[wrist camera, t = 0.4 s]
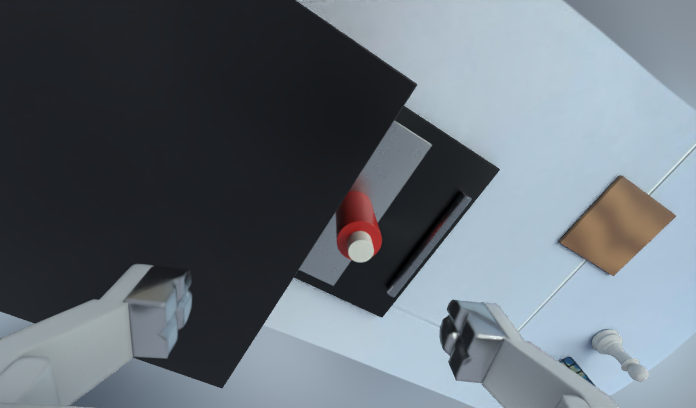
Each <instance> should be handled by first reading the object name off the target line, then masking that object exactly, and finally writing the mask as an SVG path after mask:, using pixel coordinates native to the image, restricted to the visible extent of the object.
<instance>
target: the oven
mask: <svg viewBox="0 0 696 408" xmlns="http://www.w3.org/2000/svg"><path fill="white" fill-rule="evenodd" d="M416 86H417V84H416V83H415V82H413V81H412V80H410V79H409V78H408V77H406V76H405V75H403V74H402V73H400V72H399V71H397V70H396V69H395V68H393V67H392V66H390V65H389V64H387V63H386V62H384V61H383V60H381V59H380V58H379V57H377V56H376V55H374V54H373V53H371V52H370V51H368V50H367V49H365V48H364V47H363V46H361V45H360V44H358V43H357V42H355V41H354V40H352V39H351V38H349V37H348V36H347V35H345V34H344V33H342V32H341V31H339V30H338V29H336V28H335V27H333V26H332V25H331V24H329V23H328V22H326V21H325V20H323V19H322V18H320V17H319V16H318V15H316V14H315V13H313V12H312V11H310V10H309V9H307V8H306V7H304V6H303V5H302V4H300V3H299V2H297V1H296V0H0V312H3V313H6V314H10V315H12V316H15V317H18V318H21V319H23V320H27V321H29V322H32V323H38V322H40V321H43V320H45V319H47V318H50V317H52V316H55V315H57V314H59V313H62V312H64V311H66V310H69V309H71V308H74V307H76V306H78V305H81V304H83V303H86V302H88V301H90V300H93V299H95V300H100V298H101V297H102V296H103V295H104V294H105V293H106V292H107V291H108V290H109V289H110V288H111V287H112V286H113V285H114V284H115V283H116V282H117V281H118V279H119V278H120V277H121V276H122V275H123V274H124V273H125V272H126V271H127V270H128V269H129V268H130V267H131V266H132V265H134V264H146V265H153V266H162V267H170V268H177V269H185V270H190V271H191V272H192V284H191V285H190V287H189V289H188V290H189V291H190V292H191V293H192V306H191V311H190V314H189V317H188V320H187V322H186V324H185V326H184V327H183V328H181V329H180V330H178V339H177V341H176V343H175V345H174V347H173V349H172V350H171V352H170V354H169V356H168V358H147V357H133V358H136V359H139V360H142V361H145V362H147V363H150V364H153V365H156V366H159V367H162V368H165V369H168V370H170V371H174V372H176V373H179V374H182V375H185V376H188V377H191V378H194V379H196V380H200V381H202V382H205V383H208V384H211V385H214V386H217V387H220V388H223V387H224V385H225V384H226V382H227V380H228V379H229V377H230V376H231V374H232V373H233V371H234V370H235V368H236V366H237V365H238V363H239V362H240V360H241V359H242V357H243V355H244V354H245V352H246V351H247V349H248V348H249V346H250V345H251V343H252V341H253V340H254V338H255V337H256V335H257V334H258V332H259V331H260V329H261V327H262V326H263V324H264V323H265V321H266V320H267V318H268V317H269V315H270V313H271V312H272V310H273V309H274V307H275V306H276V304H277V303H278V301H279V299H280V298H281V296H282V295H283V293H284V292H285V290H286V289H287V287H288V285H289V284H290V282H291V281H292V279H293V278H294V277H295V278H297V279H299V280H301V281H303V282H305V283H308V284H310V285H312V286H314V287H316V288H319V289H321V290H323V291H325V292H327V293H329V294H332V295H334V296H336V297H338V298H340V299H342V300H345V301H347V302H349V303H351V304H353V305H356V306H358V307H360V308H362V309H364V310H366V311H369V312H371V313H373V314H375V315H377V316H379V317H383V316H384V315H385V313H386V312H387V311H388V310H389V308H390V307H391V306H392V305H393V303H394V302H395V301H396V300H397V298H398V297H399V296H400V295H401V293H402V292H403V291H404V290H405V288H406V287H407V286H408V285H409V283H410V282H411V281H412V280H413V278H414V277H415V276H416V275H417V273H418V272H419V271H420V269H421V268H422V267H423V266H424V264H425V263H426V262H427V261H428V259H429V258H430V257H431V256H432V254H433V253H434V252H435V251H436V249H437V248H438V247H439V246H440V244H441V243H442V242H443V241H444V239H445V238H446V237H447V236H448V234H449V233H450V232H451V231H452V229H453V228H454V227H455V226H456V224H457V223H458V222H459V220H460V219H461V218H462V217H463V215H464V214H465V213H466V212H467V210H468V209H469V208H470V207H471V205H472V204H473V203H474V202H475V200H476V199H477V198H478V197H479V195H480V194H481V193H482V192H483V190H484V189H485V188H486V187H487V185H488V184H489V183H490V182H491V180H492V179H493V178H494V177H495V175H496V174H497V173H498V171H499V170H500V169H499V168H497V167H496V166H494V165H493V164H491V163H490V162H488V161H487V160H485V159H484V158H482V157H481V156H479V155H478V154H476V153H475V152H473V151H472V150H470V149H469V148H467V147H466V146H464V145H463V144H461V143H460V142H458V141H457V140H455V139H454V138H452V137H450V136H449V135H447V134H446V133H444V132H443V131H441V130H440V129H438V128H437V127H435V126H434V125H432V124H431V123H429V122H428V121H426V120H425V119H423V118H422V117H420V116H419V115H417V114H416V113H414V112H413V111H411V110H410V109H408V108H407V107H405V106H404V105H405V103H406V102H407V100H408V99H409V97H410V95H411V94H412V92H413V91H414V89H415V88H416ZM350 191H358V192H361V193H364V194H365V195H366V196H367V197H368V198H369V199H370V201H371V204H372V207H373V210H374V213H375V217H376V220H377V223H378V226H379V230H380V233H381V237H382V244H381V247H380V249H379V251H378V252H377V253H376V254H375V255H374V256H373V257H371V258H370V259H369V260H368V261H366V262H355V261H353V260H350V259H348V258H346V257H345V256H343V255H342V254H341V253H340V251H339V249H338V247H337V238H336V211H337V209H338V208H339V206H340V204H341V203H342V201H343V200H344V198H345V197H346V195H347V194H348V192H350Z"/></svg>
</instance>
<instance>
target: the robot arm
mask: <svg viewBox="0 0 696 408" xmlns="http://www.w3.org/2000/svg"><path fill="white" fill-rule="evenodd" d="M191 284H192V272H191V271H190V270H185V269H177V268H170V267H162V266H153V265H146V264H134V265H132V266H131V267H130V268H129V269H128V270H127V271H126V272H125V273H124V274H123V275H122V276H121V277H120V278H119V279H118V281H117V282H116V283H115V284H114V285H113V286H112V287H111V288H110V289H109V290H108V291H107V292H106V293H105V294H104V295H103V296H102V297H101V298H100V300H95V299H93V300H90V301H88V302H86V303H83V304H81V305H78V306H76V307H74V308H71V309H69V310H66V311H64V312H62V313H59V314H57V315H55V316H52V317H50V318H47V319H45V320H43V321H40V322H38V323H35V324H33V325H31V326H28V327H26V328H24V329H21V330H19V331H16V332H14V333H12V334H10V335H7V336H5V337H2V338H0V408H92V407H73V406H69V405H71V404H72V403H74V402H75V401H76V400H78V399H79V398H80V397H82V396H83V395H84V394H86V393H87V392H88V391H90V390H91V389H93V388H94V387H95V386H96V385H98V384H99V383H100V382H102V381H103V380H105V379H106V378H107V377H109V376H110V375H112V374H113V373H114V372H116V371H117V370H118V369H120V368H121V367H122V366H124V365H125V364H126V363H128V362H129V361H130V360H132V359H133V357H147V358H168V356H169V354H170V352H171V350H172V349H173V347H174V345H175V343H176V341H177V339H178V330H180V329H181V328H183V327H184V326H185V324H186V322H187V320H188V317H189V314H190V311H191V306H192V293H191V292H190V291H189V290H188V289H189V287H190V285H191ZM447 311H448V313H449V315H448V316H447V317H446V318H444V319H443V320H442V323H441V326H440V342H441V345H442V348H443V350H444V351H445V352H446V353H447V354H449V355H450V358H449V361H448V362H449V365H450V367H451V370H452V372H453V374H454V377H455V379H456V381H466V382H475V383H482V385H483V386H484V387H485V388H486V389H487V390H488V392H489V393H490V394H491V395H492V396H493V397H494V398H495V399H496V400H497V401H498V402H499V403H500V404H501V405H502V406H503V407H504V408H620V407H619V406H618V405H617V404H616V402H615V401H614V400H613V399H612V398H611V397H610V396H608V395H607V394H606V393H604V392H603V391H601V390H600V389H598V388H597V387H595V386H594V385H592V384H591V383H589V382H588V381H587V380H585V379H584V378H582V377H581V376H579V375H578V374H576V373H575V372H573V371H572V370H570V369H569V368H568V367H566V366H565V365H563V364H562V363H560V362H559V361H557V360H556V359H554V358H553V357H552V356H550V355H549V354H547V353H546V352H544V351H543V350H541V349H540V348H538V347H537V346H535V345H534V344H533V343H531V342H530V341H525V340H524V339H523V338H522V336H521V335H520V333H519V332H518V331H517V329H516V328H515V326H514V325H513V324H512V322H511V321H510V320H509V318H508V317H507V315H506V314H505V313H504V311H503V310H502V308H501V307H500V306H499V305H497V304H496V303H484V302H481V303H479V302H469V301H460V300H452V301H451V302H450V303H449V305H448V307H447Z"/></svg>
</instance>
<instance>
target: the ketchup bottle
mask: <svg viewBox="0 0 696 408" xmlns="http://www.w3.org/2000/svg"><path fill="white" fill-rule="evenodd" d="M336 238H337V247H338V249H339V251H340V253H341V254H342V255H343V256H345V257H346V258H348V259H350V260H353V261H355V262H366V261H368V260H369V259H370V258H371V257H373V256H374V255H375V254H376V253H377V252H378V251H379V249H380V247H381V244H382V237H381V233H380V230H379V226H378V223H377V220H376V217H375V213H374V210H373V207H372V204H371V201H370V199H369V198H368V197H367V196H366V195H365V194H364V193H361V192H358V191H350V192H348V194H347V195H346V197H345V198H344V200H343V201H342V203H341V204H340V206H339V208H338V209H337V211H336Z"/></svg>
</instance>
